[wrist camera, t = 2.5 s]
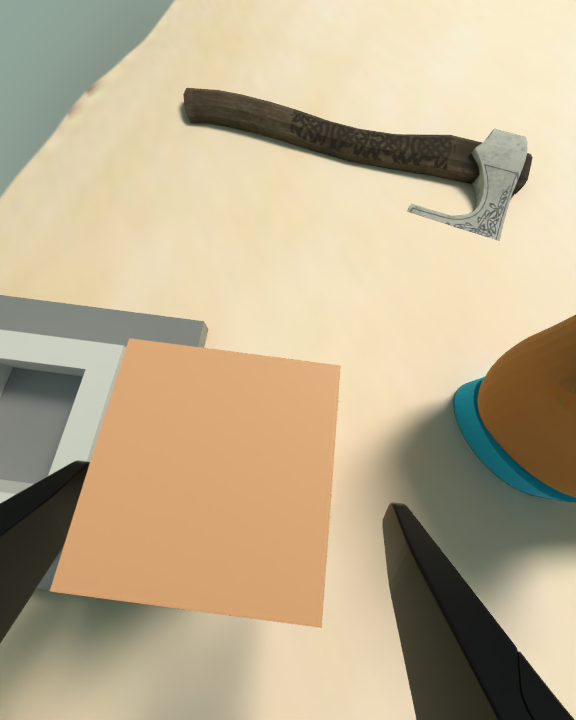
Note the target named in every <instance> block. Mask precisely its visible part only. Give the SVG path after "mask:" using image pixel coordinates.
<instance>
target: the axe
mask: <svg viewBox="0 0 576 720" xmlns="http://www.w3.org/2000/svg"><path fill="white" fill-rule="evenodd" d="M184 103H185V110H186V113H187V116H188V118H189V120H190V122H191V123H211V124H216V125H222V126H227V127H233V128H237V129H241V130H245V131H249V132H253V133H257V134H261V135H264V136H268V137H271V138H275V139H278V140H281V141H285V142H288V143H291V144H294V145H298V146H301V147H304V148H307V149H310V150H313V151H317V152H320V153H323V154H327V155H330V156H334V157H337V158H341V159H344V160H348V161H352V162H358V163H364V164H369V165H375V166H380V167H386V168H392V169H397V170H403V171H409V172H414V173H421V174H427V175H434V176H439V177H444V178H449V179H453V180H458V181H463V182H468V183H472V185H473V188H474V191H475V195H476V202H477V203H476V208H475V210H474V211H473V212H471V213H469V214H466V215H458V216H450V215H446V214H443V213H440V212H436V211H433V210H430V209H426V208H423V207H420V206H417V205H414V204H411V205H410V207H409V209H408V210H407V211H408V212H411V213H414V214H417V215H420V216H423V217H426V218H429V219H432V220H435V221H438V222H442V223H445V224H448V225H450V226H453V227H457V228H460V229H463V230H466V231H470V232H473V233H476V234H479V235H483V236H486V237H489V238H492V239H495V240H498V241H500V237H501V232H502V228H503V224H504V219H505V216H506V212H507V209H508V205H509V202H510V199H511V196H512V193H513V194H516V193H517V192H518V191H519V190H520V189H521V188H522V187H523V186H524V185H525V183H526V181H527V180H528V176H529V171H530V167H531V162H532V156H531V154H529V153H527V139H526V137H524V136H520V135H516V134H512V133H509V132H505V131H501V130H497V129H493V131H492V132H491V133H490V135H489V136H488V137H487V139H486V140H485V141H484V142H483V143H481V142H477V141H473V140H469V139H465V138H461V137H456V136H452V135H402V134H390V133H383V132H376V131H369V130H363V129H357V128H354V127H350V126H346V125H342V124H338V123H334V122H330V121H327V120H324V119H321V118H319V117H316V116H313V115H310V114H307V113H304V112H301V111H298V110H295V109H292V108H289V107H285V106H282V105H279V104H275V103H272V102H269V101H265V100H261V99H257V98H253V97H249V96H245V95H241V94H236V93H230V92H225V91H220V90H208V89H195V88H186V90H185V92H184Z"/></svg>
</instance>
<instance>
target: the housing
mask: <svg viewBox="0 0 576 720" xmlns="http://www.w3.org/2000/svg"><path fill="white" fill-rule="evenodd" d="M207 332H208V328H207V326H206V324H205V323H204V321H196V320H189V319H181V318H173V317H165V316H158V315H150V314H142V313H135V312H127V311H119V310H111V309H104V308H96V307H88V306H80V305H73V304H65V303H57V302H49V301H42V300H34V299H26V298H18V297H11V296H3V295H0V503H2V502H3V501H5V500H7V499H9V498H10V497H12V496H14V495H16V494H17V493H19V492H21V491H23V490H24V489H26V488H28V487H30V486H31V485H33V484H35V483H37V482H38V481H40V480H42V479H44V478H46V477H47V476H49V475H51V474H53V473H54V472H56V471H58V470H60V469H61V468H63V467H65V466H67V465H68V464H70V463H72V462H74V461H77V460H80V461H88V462H90V461H91V458H92V455H93V452H94V449H95V445H96V442H97V439H98V436H99V433H100V429H101V426H102V423H103V420H104V417H105V414H106V410H107V407H108V404H109V401H110V398H111V394H112V391H113V388H114V385H115V382H116V379H117V375H118V372H119V369H120V366H121V363H122V360H123V356H124V353H125V350H126V347H127V344H128V340H129V338H131V339H139V340H147V341H154V342H162V343H170V344H177V345H185V346H193V347H201V348H204V345H205V341H206V336H207ZM63 547H64V546H63ZM62 550H63V548H62ZM62 550H61V551H60V553H59V554H58V556H57V557H56V559H55V560H54V562H53V563H52V565H51V566H50V568H49V570H48V571H47V573H46V574H45V576H44V577H43V579H42V580H41V582H40V583H39V585H38V586H37V588H36V589H40V590H48V591H50V588H51V585H52V582H53V579H54V576H55V573H56V569H57V566H58V563H59V560H60V557H61V554H62Z"/></svg>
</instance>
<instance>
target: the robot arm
mask: <svg viewBox="0 0 576 720" xmlns="http://www.w3.org/2000/svg"><path fill="white" fill-rule="evenodd" d="M89 464H90V462H88V461H80V460H77V461H74V462H72V463H70V464H68V465H67V466H65V467H63V468H61V469H60V470H58V471H56V472H54V473H53V474H51V475H49V476H47V477H46V478H44V479H42V480H40V481H38V482H37V483H35V484H33V485H31V486H30V487H28V488H26V489H24V490H23V491H21V492H19V493H17V494H16V495H14V496H12V497H10V498H9V499H7V500H5V501H3V502H2V503H0V643H1V641H2V640H3V638H4V637H5V635H6V634H7V632H8V631H9V629H10V628H11V626H12V625H13V623H14V622H15V620H16V619H17V617H18V615H19V614H20V612H21V611H22V609H23V608H24V606H25V605H26V603H27V602H28V600H29V599H30V597H31V596H32V594H33V592H34V591H35V589H36V588H37V586H38V585H39V583H40V582H41V580H42V579H43V577H44V576H45V574H46V573H47V571H48V570H49V568H50V566H51V565H52V563H53V562H54V560H55V559H56V557H57V556H58V554H59V553H60V551H61V550H62V548H63V546H64V544H65V541H66V538H67V534H68V531H69V528H70V525H71V522H72V519H73V515H74V512H75V509H76V506H77V503H78V499H79V496H80V493H81V490H82V487H83V484H84V480H85V477H86V474H87V471H88V468H89ZM383 535H384V545H385V554H386V563H387V572H388V580H389V587H390V593H391V598H392V603H393V608H394V612H395V617H396V622H397V627H398V632H399V637H400V641H401V646H402V651H403V656H404V661H405V666H406V671H407V675H408V680H409V685H410V690H411V695H412V700H413V705H414V709H415V714H416V719H417V720H574V718H573V717H572V716H571V715H570V714H569V712H568V711H567V710H566V709H565V708H564V706H563V705H562V704H561V703H560V701H559V700H558V699H557V698H556V696H555V695H554V694H553V693H552V691H551V690H550V689H549V688H548V686H547V685H546V684H545V683H544V681H543V680H542V679H541V678H540V676H539V675H538V674H537V673H536V671H535V670H534V669H533V668H532V666H531V665H530V664H529V662H528V661H527V660H526V659H525V657H524V656H523V655H522V653H521V652H518V650H517V647H516V646H515V645H514V643H513V642H512V641H511V639H510V638H509V637H508V636H507V634H506V633H505V632H504V630H503V629H502V628H501V627H500V625H499V624H498V623H497V621H496V620H495V619H494V618H493V616H492V615H491V614H490V612H489V611H488V610H487V609H486V607H485V606H484V605H483V603H482V602H481V601H480V600H479V598H478V597H477V596H476V594H475V593H474V592H473V591H472V589H471V588H470V587H469V585H468V584H467V583H466V582H465V580H464V579H463V578H462V576H461V575H460V574H459V573H458V571H457V570H456V569H455V567H454V566H453V565H452V564H451V562H450V561H449V560H448V558H447V557H446V556H445V555H444V553H443V552H442V551H441V549H440V548H439V547H438V546H437V544H436V543H435V542H434V540H433V539H432V538H431V537H430V535H429V534H428V533H427V531H426V530H425V529H424V528H423V526H422V525H421V524H420V522H419V521H418V520H417V519H416V517H415V516H414V515H413V513H412V512H411V511H410V510H409V508H408V507H407V506H406V505H405V504H401V503H394V502H392V503H390V505H389V507H388V509H387V511H386V513H385V516H384V518H383Z"/></svg>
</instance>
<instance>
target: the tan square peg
mask: <svg viewBox="0 0 576 720" xmlns="http://www.w3.org/2000/svg"><path fill="white" fill-rule="evenodd" d="M339 380H340V366H339V365H332V364H324V363H316V362H309V361H301V360H293V359H285V358H278V357H270V356H262V355H255V354H247V353H239V352H231V351H224V350H216V349H208V348H201V347H193V346H185V345H177V344H170V343H162V342H154V341H147V340H139V339H131V338H129V340H128V344H127V347H126V350H125V353H124V356H123V360H122V363H121V366H120V369H119V372H118V375H117V379H116V382H115V385H114V388H113V391H112V394H111V398H110V401H109V404H108V407H107V410H106V414H105V417H104V420H103V423H102V426H101V429H100V433H99V436H98V439H97V442H96V445H95V449H94V452H93V455H92V458H91V461H90V464H89V468H88V471H87V474H86V477H85V480H84V484H83V487H82V490H81V493H80V496H79V499H78V503H77V506H76V509H75V512H74V515H73V519H72V522H71V525H70V528H69V531H68V534H67V538H66V541H65V544H64V547H63V550H62V554H61V557H60V560H59V563H58V566H57V569H56V573H55V576H54V579H53V582H52V585H51V588H50V592H58V593H65V594H73V595H80V596H88V597H95V598H103V599H110V600H118V601H125V602H133V603H140V604H148V605H155V606H163V607H170V608H178V609H185V610H193V611H200V612H208V613H215V614H223V615H230V616H238V617H245V618H253V619H260V620H268V621H275V622H283V623H290V624H298V625H305V626H313V627H320V628H322V615H323V601H324V587H325V573H326V559H327V546H328V532H329V518H330V504H331V490H332V476H333V463H334V449H335V435H336V421H337V407H338V393H339Z"/></svg>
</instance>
